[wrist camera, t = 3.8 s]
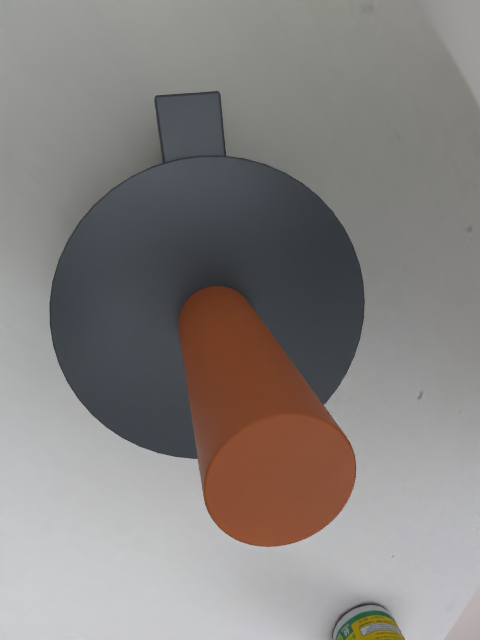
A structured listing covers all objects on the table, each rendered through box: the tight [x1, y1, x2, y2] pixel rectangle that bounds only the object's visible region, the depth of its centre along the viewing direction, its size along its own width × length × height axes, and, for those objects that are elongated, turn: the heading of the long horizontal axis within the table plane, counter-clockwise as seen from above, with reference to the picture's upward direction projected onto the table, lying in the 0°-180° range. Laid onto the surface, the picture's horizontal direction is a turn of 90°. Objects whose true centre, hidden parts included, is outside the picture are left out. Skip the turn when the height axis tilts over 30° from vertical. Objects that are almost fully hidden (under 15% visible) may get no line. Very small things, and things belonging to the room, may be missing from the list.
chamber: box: [155, 91, 226, 163], centre depth 23 cm, size 11×17×8 cm
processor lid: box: [50, 156, 365, 547], centre depth 14 cm, size 12×12×11 cm
